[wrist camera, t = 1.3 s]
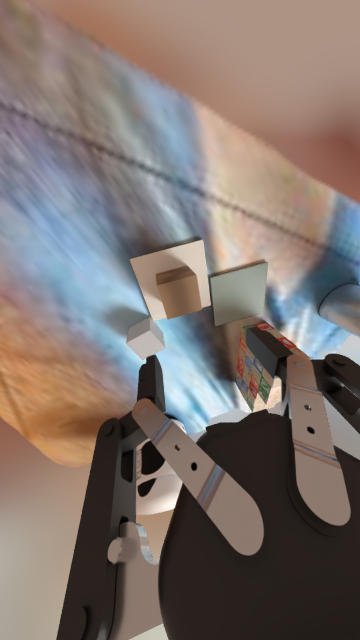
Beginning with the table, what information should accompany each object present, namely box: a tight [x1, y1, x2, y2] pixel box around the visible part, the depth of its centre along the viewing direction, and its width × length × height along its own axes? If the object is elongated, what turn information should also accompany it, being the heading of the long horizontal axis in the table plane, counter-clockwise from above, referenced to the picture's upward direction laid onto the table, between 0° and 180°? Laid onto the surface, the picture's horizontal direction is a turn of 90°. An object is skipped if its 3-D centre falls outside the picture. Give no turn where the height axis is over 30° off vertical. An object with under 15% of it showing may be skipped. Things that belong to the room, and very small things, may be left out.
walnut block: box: [155, 265, 202, 319], centre depth 25 cm, size 6×6×6 cm
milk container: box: [136, 417, 186, 515], centre depth 46 cm, size 17×17×18 cm
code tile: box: [130, 240, 211, 321], centre depth 27 cm, size 12×12×1 cm
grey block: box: [126, 316, 165, 360], centre depth 30 cm, size 5×5×5 cm
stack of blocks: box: [236, 322, 311, 412], centre depth 37 cm, size 21×6×12 cm, turn 6°
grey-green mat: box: [209, 262, 268, 326], centre depth 31 cm, size 11×11×1 cm
